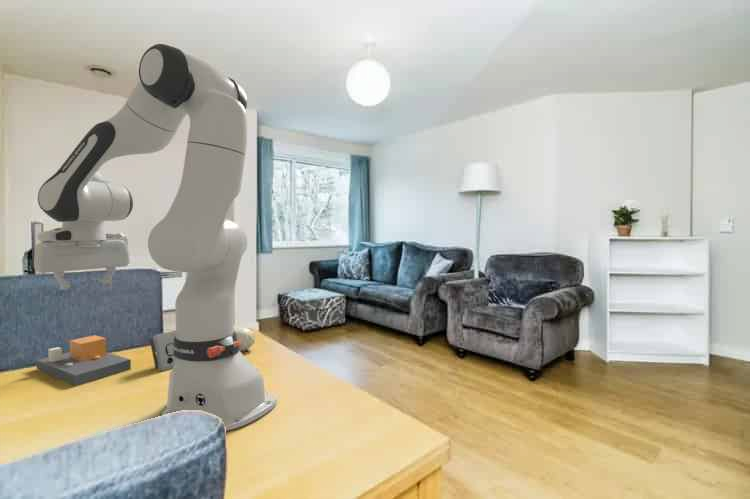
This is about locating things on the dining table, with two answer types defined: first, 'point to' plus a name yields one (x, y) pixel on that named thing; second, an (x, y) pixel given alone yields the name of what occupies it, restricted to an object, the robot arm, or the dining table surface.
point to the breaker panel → (84, 368)
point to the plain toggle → (55, 354)
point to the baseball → (245, 338)
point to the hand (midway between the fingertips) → (86, 286)
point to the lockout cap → (88, 348)
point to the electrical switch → (163, 350)
